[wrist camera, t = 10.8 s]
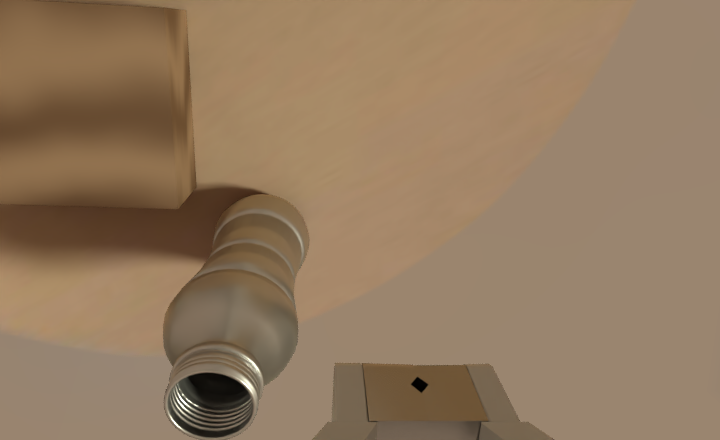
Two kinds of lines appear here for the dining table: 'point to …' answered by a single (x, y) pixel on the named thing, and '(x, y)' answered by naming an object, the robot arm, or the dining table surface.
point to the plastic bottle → (235, 319)
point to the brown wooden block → (95, 105)
